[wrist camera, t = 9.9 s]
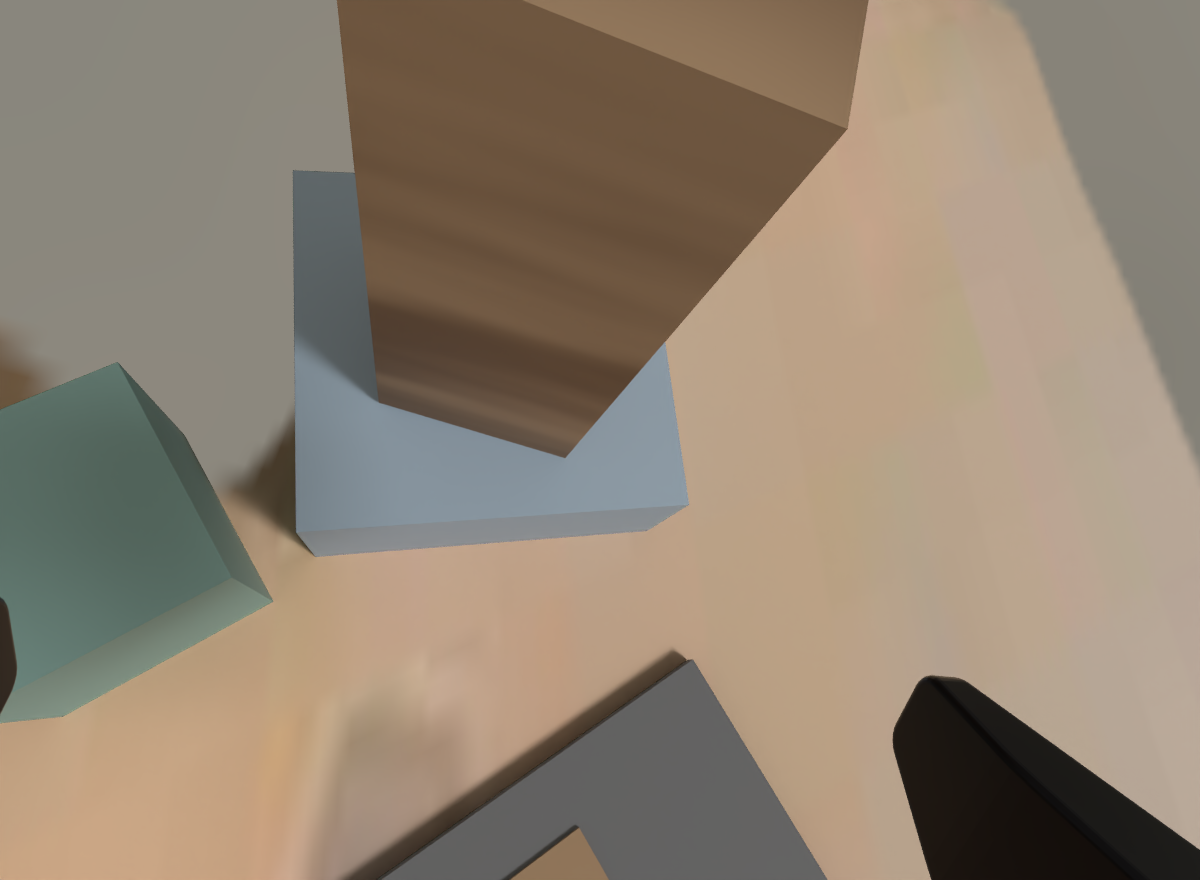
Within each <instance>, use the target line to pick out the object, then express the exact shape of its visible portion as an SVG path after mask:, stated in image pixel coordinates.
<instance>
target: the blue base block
mask: <svg viewBox="0 0 1200 880" xmlns="http://www.w3.org/2000/svg"><path fill="white" fill-rule="evenodd" d="M293 230H294V231H293V237H294V240H293V241H294V347H295V348H294V352H295V354H294V357H295V472H296V533H297V534H298V535H299V537H300V538H301V539H302V541H303V542H304V543H305V544H306V546H307V547H308V548H309V549H310V551H311V552H312V553H313V554H314V556H315V557H320V556H333V555H345V554H358V553H371V552H384V551H396V550H409V549H422V548H435V547H448V546H460V545H473V544H486V543H499V542H511V541H524V540H537V539H550V538H562V537H575V536H588V535H601V534H614V533H626V532H639V531H648V530H649V529H651V528H652V527H654V526H656V525H657V524H659V523H660V522H662V521H664V520H665V519H667V518H668V517H670V516H672V515H673V514H675V513H676V512H678V511H680V510H681V509H683V508H685V507H686V506H688V505H689V501H688V494H687V487H686V480H685V474H684V467H683V460H682V453H681V447H680V440H679V433H678V426H677V419H676V413H675V406H674V399H673V392H672V386H671V379H670V372H669V365H668V358H667V352H666V345H665V342H664V344H663V345H662V346H661V347H660V348H659V349H658V351H657V352H656V353H655V354H654V355H653V356H652V358H651V359H650V360H649V361H648V362H647V363H646V365H645V366H644V367H643V368H642V369H641V370H640V372H639V373H638V374H637V375H636V376H635V377H634V379H633V380H632V381H631V382H630V383H629V384H628V386H627V387H626V388H625V389H624V390H623V391H622V393H621V394H620V395H619V396H618V397H617V398H616V400H615V401H614V402H613V403H612V404H611V405H610V407H609V408H608V409H607V410H606V411H605V412H604V414H603V415H602V416H601V417H600V418H599V419H598V421H597V422H596V423H595V424H594V425H593V426H592V428H591V429H590V430H589V431H588V432H587V433H586V435H585V436H584V437H583V438H582V439H581V440H580V442H579V443H578V444H577V445H576V446H575V447H574V449H573V450H572V451H571V452H570V453H569V454H568V456H567V457H566V458H563V457H559V456H556V455H553V454H549V453H546V452H543V451H539V450H536V449H532V448H529V447H526V446H522V445H519V444H516V443H512V442H509V441H506V440H502V439H499V438H496V437H492V436H489V435H485V434H482V433H479V432H475V431H472V430H469V429H465V428H462V427H459V426H455V425H452V424H449V423H445V422H442V421H438V420H435V419H432V418H428V417H425V416H422V415H418V414H415V413H412V412H408V411H405V410H402V409H398V408H395V407H392V406H388V405H385V404H381V403H379V401H378V392H377V382H376V372H375V363H374V353H373V343H372V334H371V324H370V314H369V305H368V295H367V285H366V276H365V266H364V256H363V247H362V237H361V227H360V218H359V208H358V198H357V189H356V179H355V173H344V172H318V171H294V170H293Z"/></svg>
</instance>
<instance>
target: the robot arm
mask: <svg viewBox="0 0 1200 880" xmlns="http://www.w3.org/2000/svg"><path fill="white" fill-rule="evenodd" d="M16 676H17V659H16V653H15V647H14V640H13V634H12V628H11V622H10V615H9V610H8V607H7V604H6V602H5V601H4V599H2V598H1V597H0V714H1V712H2V710H3V708H4V706H5V704H6V702H7V700H8V698H9V697H10V694H11V692H12V690H13V687H14V684H15V680H16ZM893 749H894V753H895V757H896V760H897V764H898V767H899V771H900V774H901V778H902V781H903V784H904V788H905V791H906V795H907V798H908V802H909V805H910V809H911V812H912V816H913V819H914V823H915V826H916V829H917V833H918V836H919V840H920V843H921V847H922V850H923V854H924V857H925V861H926V864H927V867H928V871H929V874H930V877H931V880H1200V850H1199V849H1198V848H1196V847H1195V846H1194V845H1192V844H1191V843H1190V842H1188V841H1187V840H1185V839H1184V838H1183V837H1181V836H1180V835H1178V834H1177V833H1176V832H1174V831H1173V830H1171V829H1170V828H1169V827H1167V826H1166V825H1165V824H1163V823H1162V822H1160V821H1159V820H1158V819H1156V818H1155V817H1153V816H1152V815H1151V814H1149V813H1148V812H1147V811H1145V810H1144V809H1142V808H1141V807H1140V806H1138V805H1137V804H1135V803H1134V802H1133V801H1131V800H1130V799H1129V798H1127V797H1126V796H1124V795H1123V794H1122V793H1120V792H1119V791H1117V790H1116V789H1115V788H1113V787H1112V786H1111V785H1109V784H1108V783H1106V782H1105V781H1104V780H1102V779H1101V778H1099V777H1098V776H1097V775H1095V774H1094V773H1093V772H1091V771H1090V770H1088V769H1087V768H1086V767H1084V766H1083V765H1081V764H1080V763H1079V762H1077V761H1076V760H1075V759H1073V758H1072V757H1070V756H1069V755H1068V754H1066V753H1065V752H1063V751H1062V750H1061V749H1059V748H1058V747H1057V746H1055V745H1054V744H1052V743H1051V742H1050V741H1048V740H1047V739H1045V738H1044V737H1043V736H1041V735H1040V734H1039V733H1037V732H1036V731H1034V730H1033V729H1032V728H1030V727H1029V726H1027V725H1026V724H1025V723H1023V722H1022V721H1021V720H1019V719H1018V718H1016V717H1015V716H1014V715H1012V714H1011V713H1009V712H1008V711H1007V710H1005V709H1004V708H1002V707H1001V706H1000V705H998V704H997V703H996V702H994V701H993V700H991V699H990V698H989V697H987V696H986V695H984V694H983V693H982V692H980V691H979V690H978V689H976V688H975V687H973V686H972V685H971V684H969V683H968V682H966V681H965V680H962V679H960V678H955V677H944V676H926V677H924V678H923V679H921V680H920V681H919V682H918V684H917V685H916V687H915V689H914V691H913V693H912V694H911V696H910V698H909V700H908V702H907V704H906V706H905V708H904V710H903V711H902V713H901V715H900V717H899V719H898V721H897V723H896V725H895V727H894V732H893Z"/></svg>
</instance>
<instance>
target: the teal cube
mask: <svg viewBox="0 0 1200 880" xmlns="http://www.w3.org/2000/svg"><path fill="white" fill-rule="evenodd" d="M0 597H1V598H2V599H4V601H5V602H6V604H7V607H8V610H9V615H10V622H11V628H12V634H13V640H14V647H15V653H16V659H17V676H16V680H15V684H14V687H13V690H12V692H11V694H10V697H9V698H8V700H7V702H6V704H5V706H4V708H3V710H2V712H1V714H0V723H7V722H16V721H26V720H35V719H44V718H54V717H63V716H65V715H67V714H68V713H70V712H72V711H74V710H76V709H78V708H79V707H81V706H83V705H85V704H87V703H89V702H90V701H92V700H94V699H96V698H98V697H99V696H101V695H103V694H105V693H107V692H109V691H110V690H112V689H114V688H116V687H118V686H120V685H121V684H123V683H125V682H127V681H129V680H131V679H132V678H134V677H136V676H138V675H140V674H142V673H143V672H145V671H147V670H149V669H151V668H153V667H154V666H156V665H158V664H160V663H162V662H164V661H165V660H167V659H169V658H171V657H173V656H175V655H176V654H178V653H180V652H182V651H184V650H186V649H187V648H189V647H191V646H193V645H195V644H197V643H198V642H200V641H202V640H204V639H206V638H208V637H209V636H211V635H213V634H215V633H217V632H219V631H220V630H222V629H224V628H226V627H228V626H230V625H231V624H233V623H235V622H237V621H239V620H241V619H242V618H244V617H246V616H248V615H250V614H251V613H253V612H255V611H257V610H259V609H261V608H262V607H264V606H266V605H268V604H270V603H272V602H273V600H272V598H271V596H270V594H269V592H268V591H267V589H266V587H265V585H264V583H263V581H262V579H261V577H260V576H259V574H258V572H257V570H256V568H255V566H254V564H253V563H252V561H251V559H250V557H249V555H248V553H247V551H246V550H245V548H244V546H243V544H242V542H241V540H240V538H239V536H238V535H237V533H236V531H235V529H234V527H233V525H232V523H231V522H230V520H229V518H228V516H227V514H226V512H225V510H224V508H223V507H222V505H221V503H220V501H219V499H218V497H217V495H216V494H215V491H214V489H213V487H212V485H211V484H210V482H209V480H208V478H207V476H206V474H205V472H204V470H203V469H202V467H201V465H200V463H199V461H198V459H197V458H196V456H195V454H194V452H193V450H192V448H191V446H190V444H189V442H188V441H187V439H186V437H185V435H184V434H183V433H182V432H181V431H180V430H179V429H178V428H177V427H176V425H175V424H174V423H173V422H172V421H171V420H170V419H169V418H168V417H167V416H166V414H165V413H164V412H163V411H162V410H161V409H160V408H159V407H158V406H157V405H156V404H155V402H154V401H153V400H152V399H151V398H150V397H149V396H148V395H147V394H146V393H145V392H144V390H142V388H141V387H140V386H139V385H138V384H137V383H136V382H135V381H134V380H133V378H132V377H131V376H130V375H129V374H128V373H127V372H126V371H125V370H124V369H123V368H122V366H121V365H120V364H119V363H118V362H117V363H114V364H111V365H109V366H106V367H104V368H102V369H99V370H97V371H94V372H92V373H89V374H87V375H84V376H82V377H80V378H77V379H74V380H72V381H69V382H67V383H65V384H62V385H60V386H57V387H55V388H52V389H50V390H47V391H45V392H42V393H40V394H37V395H35V396H32V397H30V398H28V399H25V400H23V401H20V402H18V403H15V404H13V405H10V406H8V407H5V408H3V409H0Z"/></svg>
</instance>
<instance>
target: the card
mask: <svg viewBox="0 0 1200 880" xmlns="http://www.w3.org/2000/svg"><path fill="white" fill-rule="evenodd" d="M377 880H827V878H826V877H825V875H824V873H823V872H822V870H821V868H820V867H819V865H818V864H817V862H816V860H815V859H814V857H813V855H812V854H811V852H810V850H809V849H808V847H807V846H806V844H805V842H804V841H803V839H802V837H801V836H800V834H799V832H798V831H797V829H796V828H795V826H794V824H793V823H792V821H791V819H790V818H789V816H788V814H787V813H786V811H785V809H784V808H783V806H782V805H781V803H780V801H779V800H778V798H777V796H776V795H775V793H774V791H773V790H772V788H771V787H770V785H769V783H768V782H767V780H766V778H765V777H764V775H763V773H762V772H761V770H760V769H759V767H758V765H757V764H756V762H755V760H754V759H753V757H752V755H751V754H750V752H749V751H748V749H747V747H746V746H745V744H744V742H743V741H742V739H741V737H740V736H739V734H738V733H737V731H736V729H735V728H734V726H733V724H732V723H731V721H730V719H729V718H728V716H727V715H726V713H725V711H724V710H723V708H722V706H721V705H720V703H719V701H718V700H717V698H716V697H715V695H714V693H713V692H712V690H711V688H710V687H709V685H708V683H707V682H706V680H705V678H704V677H703V675H702V674H701V672H700V670H699V669H698V667H697V665H696V664H695V662H694V660H687V661H686V662H684V663H683V664H681V665H680V666H679V667H677V668H676V669H674V670H673V671H671V672H670V673H669V674H667V675H666V676H664V677H663V678H662V679H660V680H659V681H657V682H656V683H654V684H653V685H652V686H650V687H649V688H647V689H646V690H645V691H643V692H642V693H640V694H639V695H637V696H636V697H635V698H633V699H632V700H630V701H629V702H628V703H626V704H625V705H623V706H622V707H620V708H619V709H618V710H616V711H615V712H613V713H612V714H611V715H609V716H608V717H606V718H605V719H603V720H602V721H601V722H599V723H598V724H596V725H595V726H594V727H592V728H591V729H589V730H588V731H586V732H585V733H584V734H582V735H581V736H579V737H578V738H577V739H575V740H574V741H572V742H571V743H569V744H568V745H567V746H565V747H564V748H562V749H561V750H560V751H558V752H557V753H555V754H554V755H552V756H551V757H550V758H548V759H547V760H545V761H544V762H543V763H541V764H540V765H538V766H537V767H535V768H534V769H533V770H531V771H530V772H528V773H527V774H526V775H524V776H523V777H521V778H520V779H518V780H517V781H516V782H514V783H513V784H511V785H510V786H509V787H507V788H506V789H504V790H503V791H501V792H500V793H499V794H497V795H496V796H494V797H493V798H492V799H490V800H489V801H487V802H486V803H484V804H483V805H482V806H480V807H479V808H477V809H476V810H475V811H473V812H472V813H470V814H469V815H467V816H466V817H465V818H463V819H462V820H460V821H459V822H458V823H456V824H455V825H453V826H452V827H450V828H449V829H448V830H446V831H445V832H443V833H442V834H441V835H439V836H438V837H436V838H435V839H433V840H432V841H431V842H429V843H428V844H426V845H425V846H424V847H422V848H421V849H419V850H418V851H416V852H415V853H414V854H412V855H411V856H409V857H408V858H407V859H405V860H404V861H402V862H401V863H399V864H398V865H397V866H395V867H394V868H392V869H391V870H390V871H388V872H387V873H385V874H384V875H382V876H381V877H380V878H378V879H377Z"/></svg>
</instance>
